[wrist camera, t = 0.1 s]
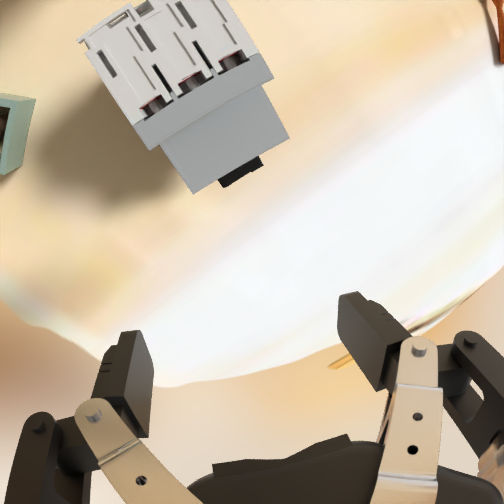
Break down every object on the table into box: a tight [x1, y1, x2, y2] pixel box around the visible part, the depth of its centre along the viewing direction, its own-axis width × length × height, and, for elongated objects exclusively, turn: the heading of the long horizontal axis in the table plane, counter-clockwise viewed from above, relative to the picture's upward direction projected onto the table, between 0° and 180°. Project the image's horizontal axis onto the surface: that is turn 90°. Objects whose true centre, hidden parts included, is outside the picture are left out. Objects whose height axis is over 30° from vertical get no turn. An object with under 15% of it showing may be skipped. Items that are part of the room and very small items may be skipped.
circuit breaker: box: [77, 0, 290, 194], centre depth 20 cm, size 8×14×15 cm, turn 29°
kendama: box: [492, 0, 504, 63], centre depth 21 cm, size 6×6×20 cm
